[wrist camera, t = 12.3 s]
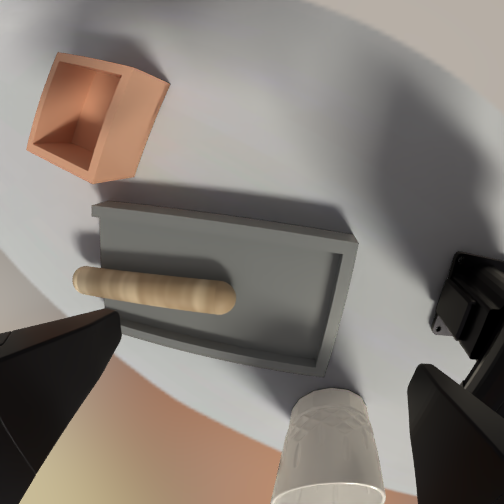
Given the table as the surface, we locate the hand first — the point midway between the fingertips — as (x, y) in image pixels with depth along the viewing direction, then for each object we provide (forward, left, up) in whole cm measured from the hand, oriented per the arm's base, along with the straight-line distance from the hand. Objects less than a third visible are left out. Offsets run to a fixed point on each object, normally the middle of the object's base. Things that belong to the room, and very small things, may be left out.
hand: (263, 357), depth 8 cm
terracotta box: (+14, -7, -13) cm, 21 cm away
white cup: (-6, +15, -13) cm, 21 cm away
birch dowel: (+3, +5, -13) cm, 14 cm away
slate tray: (+5, +4, -13) cm, 14 cm away
